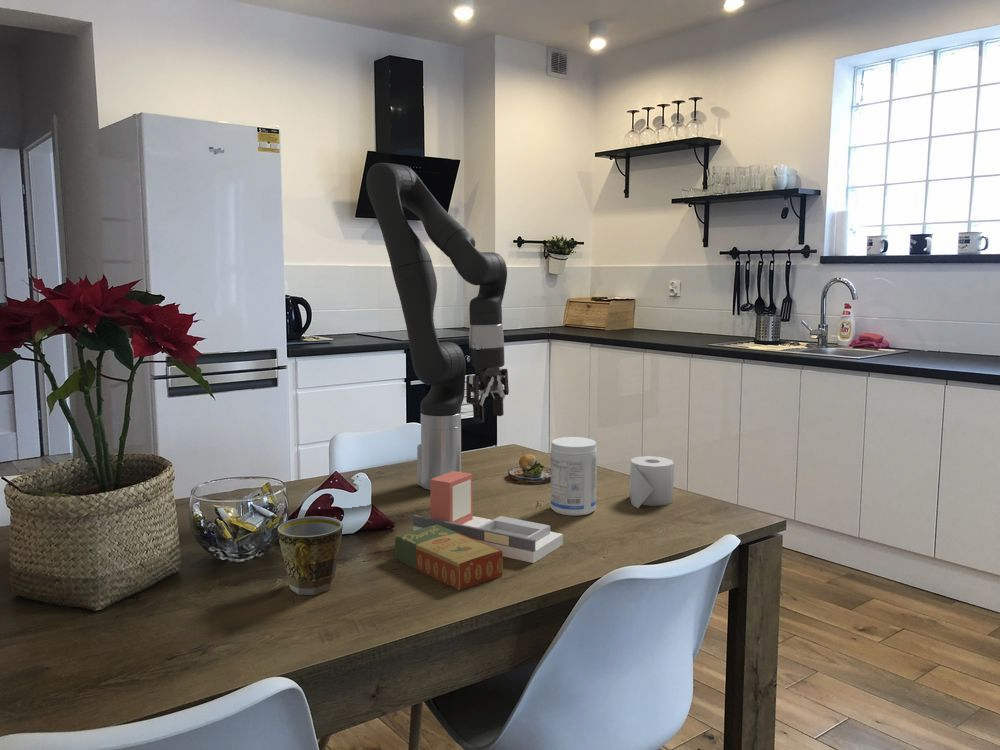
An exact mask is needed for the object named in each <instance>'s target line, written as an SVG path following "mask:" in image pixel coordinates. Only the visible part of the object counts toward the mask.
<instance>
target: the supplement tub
mask: <svg viewBox="0 0 1000 750" xmlns="http://www.w3.org/2000/svg"><path fill="white" fill-rule="evenodd" d="M597 450H598V449H597V442H596V441H595V440H594V439H592V438H589V437H580V436H564V437H558V438H554V439H553V440H552V441H551V447H550V468H551V479H550V508H551V509H552V510H553V511H554V512H555V513H557V514H559V515H563V516H575V517H576V516H577V517H579V516H585V515H589V514H591V513H592V512H594V511H595V510H596V509H597V465H598V463H597V459H598V457H597Z"/></svg>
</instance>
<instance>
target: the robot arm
mask: <svg viewBox="0 0 1000 750" xmlns="http://www.w3.org/2000/svg"><path fill="white" fill-rule="evenodd" d="M365 182H366V183H365V184H366V190H367V191H366V192H367V195H368V198H369V200H370V203H371V204H370V205H371V207H372V209H373V211H374V214H375V217H376V219H377V222H378V225H379V227H380V231H381V234H382V238H383V240H384V242H383V243H384V245H385V248H386V251H387V255H388V258H389V263H390V267H391V268H390V269H391V272H392V275H393V280H394V283H395V288H396V291H397V294H398V296H399V301H400V305H401V309H402V314H403V317H404V323H405V328H406V331H407V332H406V333H407V337H408V345H409V350H410V352H409V353H410V357H411V362H412V367H413V370H414V374H415V375H416V377H417V379H418V381H420V382H421V383H423V384H425V385H427V386H430V390H429V391H428V393H427V394H426V396H424V398H423V399H422V400H421V402H420V444H418V445H417V446H416V450H417V453H416V454H417V457H416V458H417V461H416V463H417V486H420V487H422V489H424V490H429V491H430V479H433V478H435V477H438V476H441V475H444V474H446V473H449V472H452V471H457V472H462V413H461V412H462V404H463V403H464V400H465V401H466V403H467V404H470V405H471V406H472V409H473V411H472V413H473V422H474V423H478V424H482V423H484V422H485V410H484V409H485V406H484V402H485V400H486V398H487V397H488V396H489V393H490V394H491V396H492V398H493V399H492V404H493V405H492V407H493V410H492V411H493V416H494V417H502V416H504V414H505V413H504V400H505V398H506V396H508V395H509V393H510V389H509V375H508V373H509V372H508V368H503V367H504V366H505V339H504V338H505V337H504V336H505V335H504V330H503V329H504V328H503V311H502V310H503V309H502V304H503V300H504V296H505V290H506V285H507V282H508V267H507V263H506V261H505V259H504V258H503V256H502V255H501V254H500V253H498V252H489V251H488V252H486V251H480V250H478V249H477V248H475V247H476V241H475V237H474V236H473V235H472V234H471V233H470V232H469V231H468V230H467V229H465V227H464V226H463V225H461V223H460V222H458V221H457V220H456V219H455V218H454V217H453V216H452V215H451V214H450V213H449V212H448V211H446V209H445V208H444V207H443V206H442V205H441V204H440V203H439V202H438V200H437V199H436V197H435V196H434V195H433V194H432V192H431V191H430V190H429V189H428V188H427V185H425V184H424V182H423V180H422V179H421V178H420V177H419V175H418V174H417V173H416V172H415V171H414V170H413V169H412V168H411V167H409V166H407V165H403V164H398V163H389V162H377V163H375V164H373V165H372V166H370V168H369V169H368V171H367V175H366V181H365ZM404 208H406V209H407V210H409V211H410V212H412V213H413V214H414V215H415V216H417V218H418V219H419V220H420V222H421V223H422V225H423V228H424V230H425V233H426V235H427V236H428V238H429V240H431V242H432V243H433V244H434V245H435V246H436V247H437V248H438V249H439V250H440V251H441V252H442V253H443V254H444V255H446V257H447V258H449V259H450V260H449V261H450V262H451V263H452V265H453V267H454V268H455V269H456V271H457V273H458V275H459V276H460V277H461V278H462V279H463V281H465V282H467V283H468V284H470V285H473V286H479V288H478V293H477V296H475V297H474V298H471V300H470V301H469V305H468V306H469V311H468V312H469V314H468V315H469V331H468V347H469V349H468V350H469V366H470V367H471V368H473V369H474V370H475V371H474V375H473V374H471V375H470V374H469V375H466V369H467V368H466V358H465V354H464V352H463V350H462V349H461V347H460V346H459V345H458V344H457V343H455V342H450V341H443V342H442V341H441V342H440V341H439V338H438V335H437V331H436V326H435V319H434V313H435V312H434V311H435V304H436V299H437V292H438V282H437V276H436V272H435V269H434V265H433V261H432V258H431V255H430V253H429V251H428V249H427V248H426V246H425V245H424V244H423V242H422V241H421V239H420V238H419V236H418V235H417V233H415V231H414V229H413V228H412V227H411V226H410V224H409V222H408V220H407V218H406V215H405V211H404ZM465 392H466V393H465ZM465 395H466V396H465ZM465 397H466V398H465ZM464 398H465V399H464Z"/></svg>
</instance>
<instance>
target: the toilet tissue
mask: <svg viewBox="0 0 1000 750" xmlns="http://www.w3.org/2000/svg"><path fill="white" fill-rule="evenodd" d="M629 470H630V472H629V474H630V475H629V499H630V503H631V505H632V506H633V507H635V508H637V509H639V508H640V507H641V506H642V505H643V506H651V507H652V506H654V507H655V506H667V505H669V504H671V503H673V502H674V481H675V480H674V479H675V477H674V476H675V463H674V460H673V459H670V458H666V457H663V456H653V455H652V456H651V455H648V456H647V455H645V456H636V457H633V458H630V468H629Z"/></svg>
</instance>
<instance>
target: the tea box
mask: <svg viewBox="0 0 1000 750" xmlns="http://www.w3.org/2000/svg"><path fill="white" fill-rule="evenodd" d="M473 476H474V475H473V473H469V472H462V471H461V472H457V471H452V472H449V473H446V474H444V475H441V476H438V477H435V478H433V479H430V490H429V492H430V493H429V494H430V495H429V496H430V498H429V499H430V518H433V519H438V520H443V521H447V522H452V523H457V524H464V523H466V522H468V521H470V520H472V519H473V515H474V514H473V511H474V509H473V507H474V506H473V497H474V496H473V494H474V493H473V491H474V490H473V485H474V483H473V482H474V481H473V480H474V479H473V478H474V477H473Z"/></svg>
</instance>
